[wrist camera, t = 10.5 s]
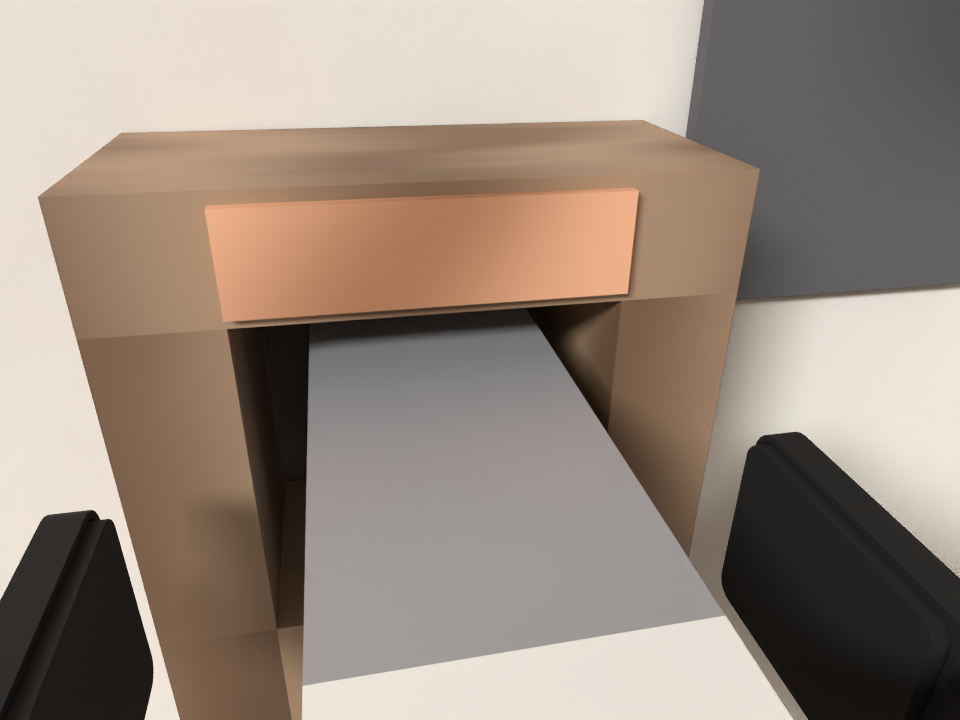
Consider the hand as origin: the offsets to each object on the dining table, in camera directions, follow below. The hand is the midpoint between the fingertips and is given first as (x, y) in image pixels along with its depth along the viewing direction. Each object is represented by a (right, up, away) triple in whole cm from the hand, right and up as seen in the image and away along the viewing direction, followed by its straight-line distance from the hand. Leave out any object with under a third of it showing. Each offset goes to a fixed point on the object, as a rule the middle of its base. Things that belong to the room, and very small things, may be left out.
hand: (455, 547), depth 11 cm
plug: (-1, +3, +6) cm, 6 cm away
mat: (+9, +8, +5) cm, 13 cm away
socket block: (-1, -2, +8) cm, 8 cm away
